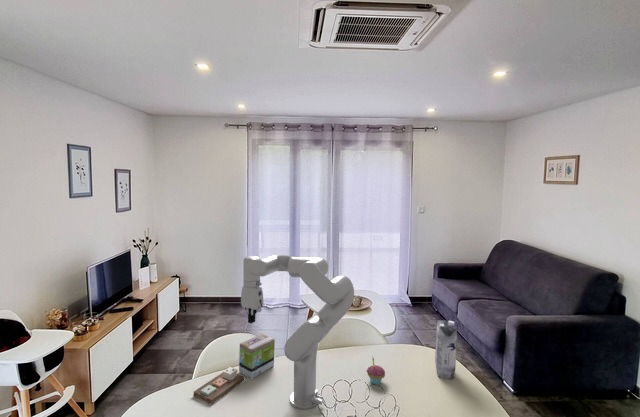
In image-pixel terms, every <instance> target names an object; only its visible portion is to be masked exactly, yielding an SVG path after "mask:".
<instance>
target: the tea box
mask: <svg viewBox="0 0 640 417" xmlns="http://www.w3.org/2000/svg"><path fill="white" fill-rule="evenodd" d="M275 341H276V340H275V339H274V338H272V337H270V336H268V335H266V334H264V333H261V334H259V335H256V336H254V337H252V338H250V339H247V340H245V341H243V342H239V352H238V353H239V354H238V355H239V357H238V362H239V363H238V372H239V374H240V373H241V375H242V374H243V376H245V377H247V378H249V379H251V380H252V379H254V378H256V377H257V376H258V375H261V374H262V373H265V372H266V371H268V370H270V369H272V368H273V367H275ZM271 367H272V368H271Z"/></svg>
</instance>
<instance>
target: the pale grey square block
mask: <svg viewBox="0 0 640 417" xmlns="http://www.w3.org/2000/svg"><path fill="white" fill-rule="evenodd" d="M215 391H217V388H215V387H213V386H211V385H208V386H207V387H205V388H204V389H202V390H201V393H202V394H204V395H206V396H210V395H211V394H213V393H214V392H215Z"/></svg>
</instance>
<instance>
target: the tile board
mask: <svg viewBox="0 0 640 417" xmlns="http://www.w3.org/2000/svg"><path fill="white" fill-rule="evenodd" d="M219 378H222V379H225V378H223V372H221V373H219V374H218V375H216V376H215V377H214V378H212V379H210V380H209V381H207V382H206V383H205V384H202V386H200V387H199V388H197V389H195V390H194V391H193V397H194V398H197V399H199V400H201V401H203V402H206V403H207V404H209V405H213V404H214V403H216V402H217V401H219V400H220V399H221V398H223V397H224V396H225V395H227V394H228V393H230V392H231V391H232V390H233V389H235V388H236V387H237V386H239V385H240V384H242V383H243V382H244V381H245V375H242V374H240V373H237V376H236V377H235V378H233V379H232V380H228V379H225V380H227V384H225V385H224V386H223V387H221V388H217V387H215V386H213V385H212V383H213V382H214V381H216V380H217V379H219ZM208 385H211V386H213V387H215V388H217V391H215V392H214V393H213V394H211V395H210V396H206V395H204V394H202V393H201V390H202V389H204V388H205V387H207V386H208Z"/></svg>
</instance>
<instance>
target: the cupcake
mask: <svg viewBox="0 0 640 417" xmlns="http://www.w3.org/2000/svg"><path fill="white" fill-rule="evenodd" d="M371 359H372V365H370V366H369V367H368V368H367V369H366V374H367V376H368V377H369V380H370V383H371V384H373V385H380V384H381V381H382V380H383V379H384V378H385V376H386V372H385V369H384V368H383V367H382V366H380V365H378V364H377V365H375V358H374V356H373V355H372V357H371Z"/></svg>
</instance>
